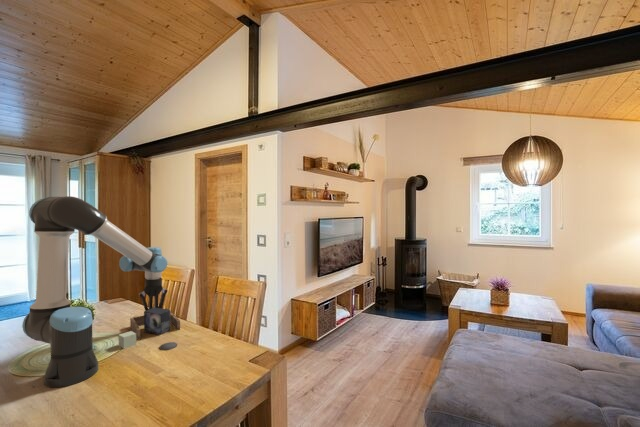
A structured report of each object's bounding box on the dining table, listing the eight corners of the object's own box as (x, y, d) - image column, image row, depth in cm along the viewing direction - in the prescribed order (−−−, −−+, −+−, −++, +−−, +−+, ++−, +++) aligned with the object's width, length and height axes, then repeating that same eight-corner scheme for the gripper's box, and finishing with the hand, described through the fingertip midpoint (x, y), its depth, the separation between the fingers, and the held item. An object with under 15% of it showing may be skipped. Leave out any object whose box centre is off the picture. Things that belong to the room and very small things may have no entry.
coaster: (179, 346, 132) (179, 346, 132) (161, 351, 127) (161, 350, 127) (174, 341, 137) (174, 340, 137) (157, 345, 133) (157, 345, 133)
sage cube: (136, 344, 134) (136, 333, 134) (123, 349, 130) (123, 337, 130) (131, 341, 137) (131, 330, 137) (118, 346, 133) (118, 334, 133)
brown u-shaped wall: (180, 329, 151) (180, 320, 151) (137, 339, 139) (137, 330, 139) (169, 318, 166) (169, 310, 166) (130, 326, 154) (130, 318, 154)
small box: (143, 332, 147) (142, 311, 147) (154, 327, 153) (153, 307, 153) (160, 335, 144) (160, 313, 144) (170, 330, 150) (170, 309, 150)
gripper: (165, 274, 161) (165, 319, 161) (137, 278, 153) (137, 325, 153) (169, 277, 155) (169, 323, 156) (140, 281, 147) (140, 329, 147)
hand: (153, 324), depth 154 cm, fingers closed
